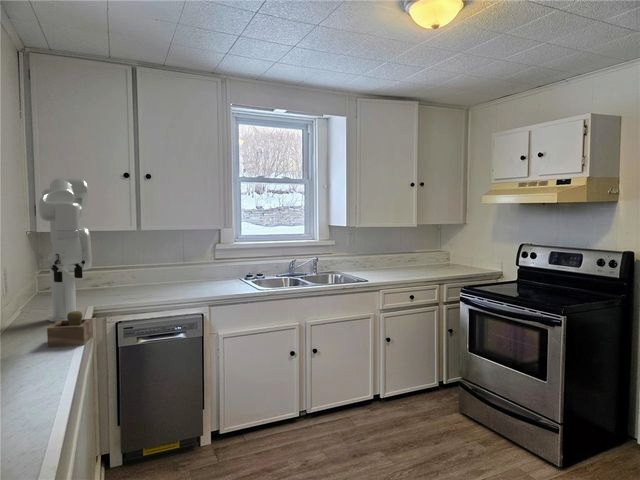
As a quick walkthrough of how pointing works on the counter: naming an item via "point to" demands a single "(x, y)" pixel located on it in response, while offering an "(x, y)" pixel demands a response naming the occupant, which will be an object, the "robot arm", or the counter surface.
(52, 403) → the counter surface
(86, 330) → the box
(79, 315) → the cork
